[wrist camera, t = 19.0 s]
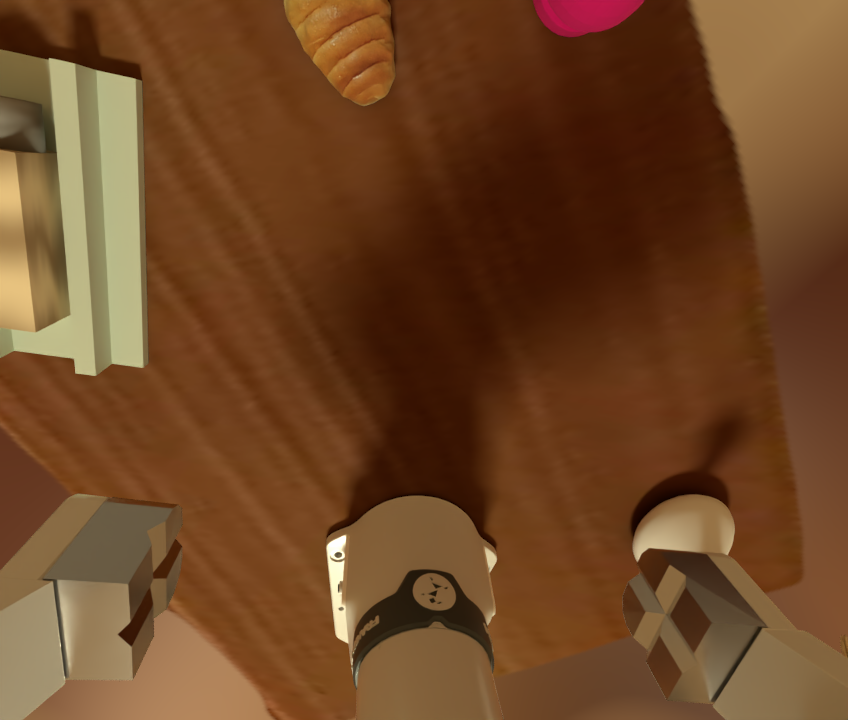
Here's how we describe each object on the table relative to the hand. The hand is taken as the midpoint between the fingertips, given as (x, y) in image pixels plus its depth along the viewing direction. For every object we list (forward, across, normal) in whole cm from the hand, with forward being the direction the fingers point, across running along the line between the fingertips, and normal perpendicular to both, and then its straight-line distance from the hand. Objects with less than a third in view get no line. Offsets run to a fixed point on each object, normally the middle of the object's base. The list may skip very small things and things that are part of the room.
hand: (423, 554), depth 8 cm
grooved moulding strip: (+34, +26, +3) cm, 43 cm away
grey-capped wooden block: (+33, +26, +2) cm, 42 cm away
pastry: (+35, +5, -14) cm, 38 cm away
